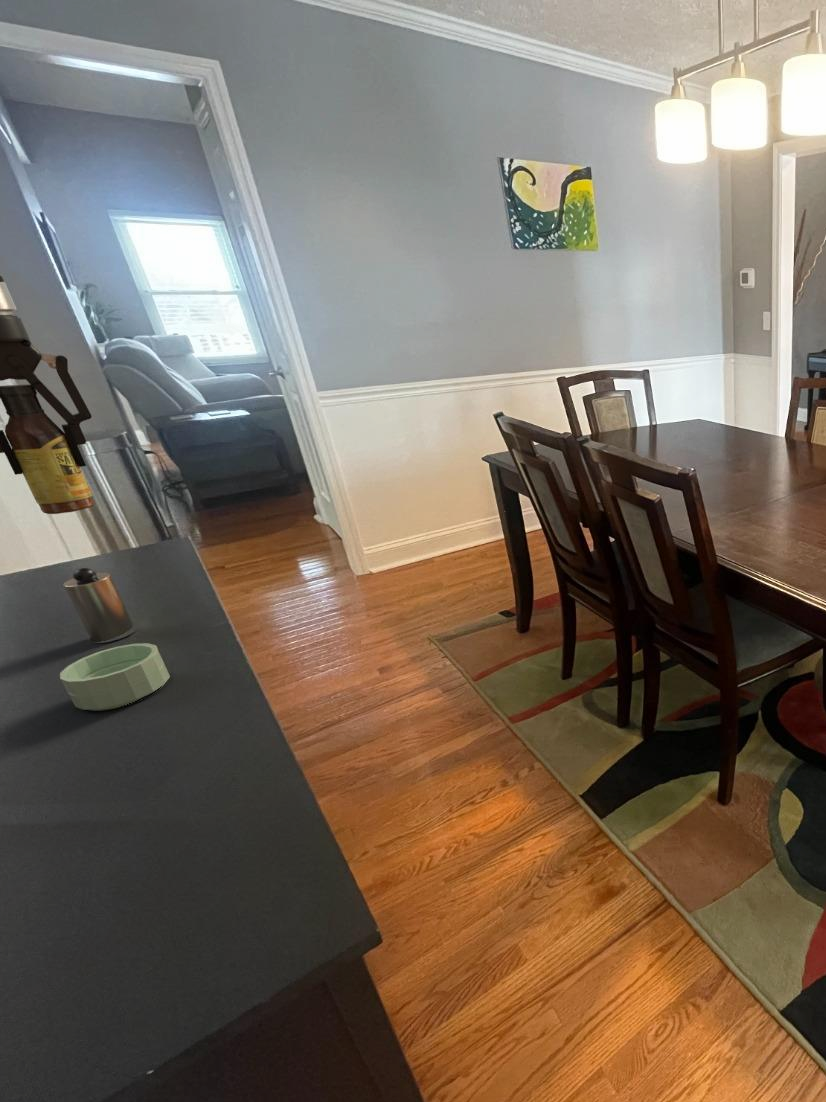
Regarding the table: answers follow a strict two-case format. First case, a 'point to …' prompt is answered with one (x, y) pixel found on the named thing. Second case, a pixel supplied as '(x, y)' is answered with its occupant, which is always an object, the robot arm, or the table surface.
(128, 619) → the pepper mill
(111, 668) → the bowl
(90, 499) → the sauce bottle
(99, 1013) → the table surface
